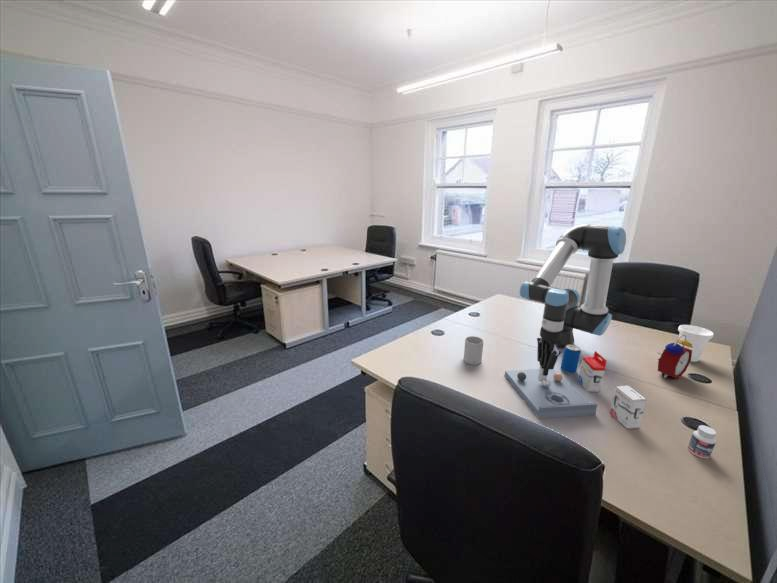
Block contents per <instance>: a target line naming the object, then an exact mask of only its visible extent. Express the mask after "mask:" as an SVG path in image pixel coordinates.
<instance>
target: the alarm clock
mask: <svg viewBox="0 0 777 583" xmlns="http://www.w3.org/2000/svg"><path fill="white" fill-rule="evenodd" d="M682 336H685V340H679V339H680V338H681V337H682ZM682 336H681V337H679V336H678V338H677V339H676V341H675V342H671V343H668V344H666V345H665V347H664V349H663V351H662V353H661V352H657V354H658V355H660V357H658V358H657V360H658V362H657V372H660V373H661V374H664V377H663V378H664V379H667V377H668V376H670V377H671V378H674V379H679V378H681V376H682V375H684V373H685V372H686V371H687V369H688V367H689V365H690V364H691V362H690V361H691V357H692V350H690V349H688V348H685V347H684V345H685V346H688V347H691V348H693V346H692V344H691V343H689V342H688V341H687V339H686V337H687V336H686V335H682ZM678 343H679V344H680V345H681V344H682V345H683V346H680V345H679V344H678Z"/></svg>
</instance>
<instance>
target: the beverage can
mask: <svg viewBox="0 0 777 583" xmlns="http://www.w3.org/2000/svg"><path fill="white" fill-rule="evenodd" d="M581 353H582V352H581V348H580V347H579V346H577V345H576V344H574V345H566V347H565V348H563V353H562V359H561V364H560V370H562V371H563V372H564V373H565V374H569V375H570V374H571V375H572V374H576V373H577V371H578V367H579V362H580V357H581Z"/></svg>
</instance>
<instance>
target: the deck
mask: <svg viewBox="0 0 777 583" xmlns="http://www.w3.org/2000/svg"><path fill="white" fill-rule="evenodd" d="M539 370H540V368H534V369H517V370H515V369H513V370H505V371H504V377H505V378H506V379H507V381H508V382H509V384H511V386H512V387H513V388H514V389H515V390H516V392H517V393H518V394H519V395H520V397H521V398H522V400H524V402H525V403H526V404H527V406H528V407H529V408H530V409H531V410H532V411H533V413H534V415H535V416H536V417H537V418H538V419H550V418H552V419H553V418H562V417H578V416H589V415H591V416H592V415H596V413H597V408H598V403H597V402H590V401H589V400H588V399H586V398H585V397H584V396H583V395H582V394H581V393H580V392H579V391H577V390H576V388H574V387H573V386H572V385H571V384H570V383H569V382H568V381H567V380H566V379H565V378H563V379H562V380H561V381H556V380H555V379H554V378H553V376H554V374H555V373H558V372H557V371H556V370H554V368H553V369H549V371H548V375H547V379H548V380H549V381H550V382H551V385H550V387H548V388H545V387H543V386H542V384H541V382H540V381H539V380H538V377H539V372H540V371H539ZM520 372H523V373H525V374H526V379H525V380H524V381H521V380H519V379H518V377H517V375H518V373H520Z"/></svg>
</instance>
